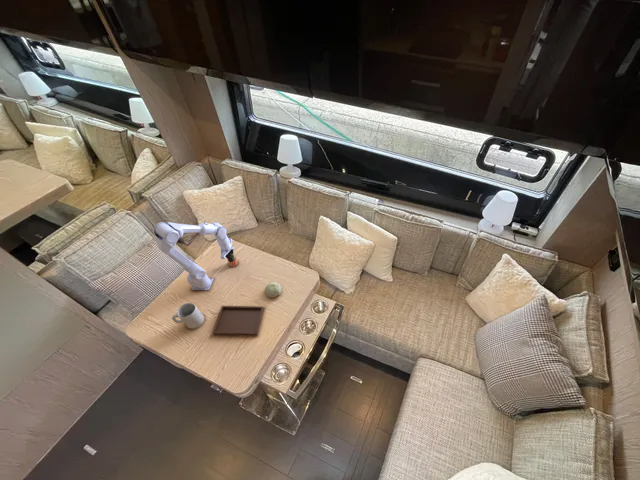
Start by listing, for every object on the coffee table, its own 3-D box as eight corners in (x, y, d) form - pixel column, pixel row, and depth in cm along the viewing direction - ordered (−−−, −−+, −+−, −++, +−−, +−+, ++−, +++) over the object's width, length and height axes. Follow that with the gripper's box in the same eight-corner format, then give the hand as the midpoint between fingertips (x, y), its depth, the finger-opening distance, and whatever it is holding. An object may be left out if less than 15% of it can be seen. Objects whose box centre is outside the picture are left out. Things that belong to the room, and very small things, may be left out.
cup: (228, 266, 165) (226, 262, 162) (231, 260, 168) (228, 256, 165) (236, 266, 165) (234, 262, 162) (238, 260, 168) (236, 256, 165)
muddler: (231, 263, 165) (230, 255, 160) (232, 261, 167) (231, 252, 161) (234, 264, 166) (234, 255, 160) (235, 261, 167) (234, 253, 161)
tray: (213, 334, 137) (212, 333, 135) (223, 307, 147) (221, 305, 145) (257, 335, 137) (256, 333, 136) (264, 308, 147) (263, 306, 146)
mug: (203, 311, 145) (195, 300, 136) (205, 325, 140) (196, 314, 131) (178, 319, 142) (168, 308, 133) (179, 333, 137) (168, 322, 128)
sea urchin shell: (268, 300, 149) (262, 286, 147) (267, 298, 156) (262, 285, 155) (284, 293, 151) (279, 280, 150) (283, 292, 159) (278, 279, 158)
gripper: (227, 251, 148) (234, 267, 158) (234, 233, 157) (241, 249, 168) (213, 251, 148) (222, 267, 158) (222, 232, 157) (229, 249, 168)
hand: (231, 258), depth 163 cm, fingers closed on muddler, 2 cm apart
